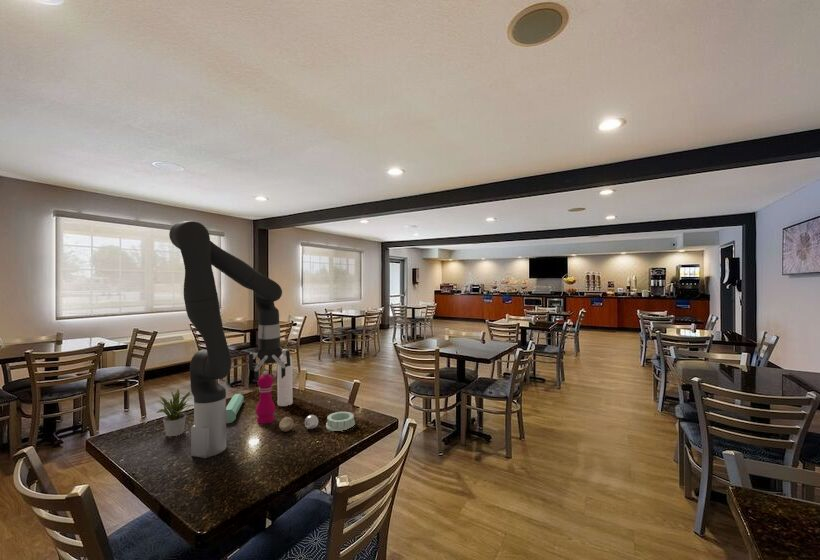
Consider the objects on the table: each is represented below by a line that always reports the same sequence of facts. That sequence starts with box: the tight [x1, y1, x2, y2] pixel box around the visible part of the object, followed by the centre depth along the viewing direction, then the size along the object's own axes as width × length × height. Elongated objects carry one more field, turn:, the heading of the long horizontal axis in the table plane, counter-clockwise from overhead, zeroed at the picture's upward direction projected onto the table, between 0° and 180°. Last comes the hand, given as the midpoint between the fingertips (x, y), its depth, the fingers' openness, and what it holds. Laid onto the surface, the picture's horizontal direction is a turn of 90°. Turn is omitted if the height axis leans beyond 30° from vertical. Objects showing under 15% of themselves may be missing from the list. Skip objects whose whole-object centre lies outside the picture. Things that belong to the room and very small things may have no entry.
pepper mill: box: [255, 370, 276, 425], centre depth 141 cm, size 7×7×20 cm
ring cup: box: [325, 411, 356, 432], centre depth 136 cm, size 11×11×4 cm
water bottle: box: [276, 348, 294, 407], centre depth 160 cm, size 9×6×25 cm
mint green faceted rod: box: [226, 393, 244, 424], centre depth 151 cm, size 6×6×25 cm
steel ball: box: [304, 414, 319, 430], centre depth 133 cm, size 5×5×5 cm
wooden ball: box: [278, 416, 294, 432], centre depth 131 cm, size 5×5×5 cm
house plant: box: [155, 388, 194, 437], centre depth 129 cm, size 14×14×16 cm
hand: (270, 378), depth 131 cm, fingers open, 8 cm apart
